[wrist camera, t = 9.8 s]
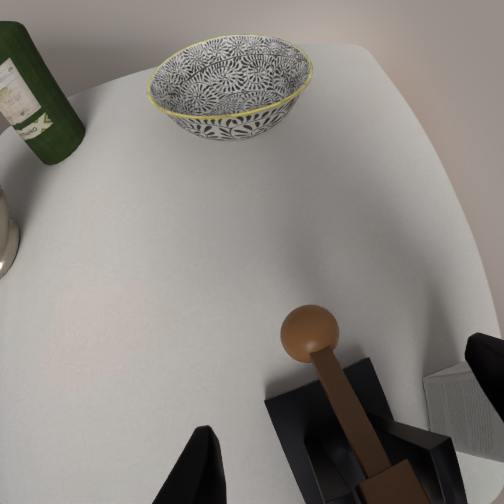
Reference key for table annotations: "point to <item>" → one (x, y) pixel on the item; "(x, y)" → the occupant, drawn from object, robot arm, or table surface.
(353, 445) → the lever
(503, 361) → the robot arm
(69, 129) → the wine bottle
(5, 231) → the teapot
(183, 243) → the table surface
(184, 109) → the bowl
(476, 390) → the cosmetic box
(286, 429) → the bracket
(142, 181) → the table surface
